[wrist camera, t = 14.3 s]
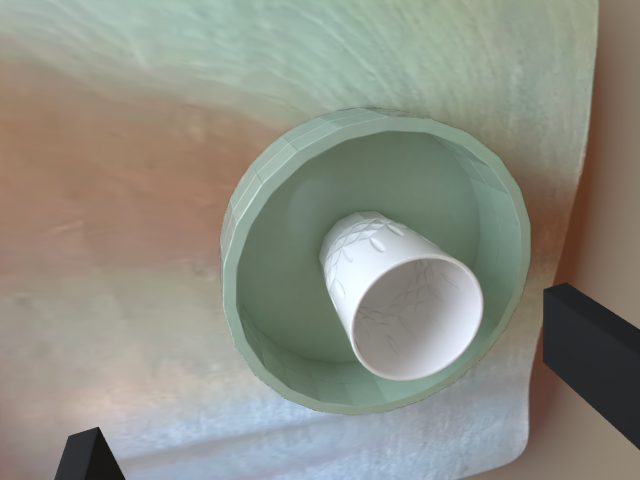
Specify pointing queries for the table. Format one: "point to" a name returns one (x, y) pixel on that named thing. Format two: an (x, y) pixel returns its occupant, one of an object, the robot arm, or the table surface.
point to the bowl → (340, 201)
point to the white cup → (399, 296)
